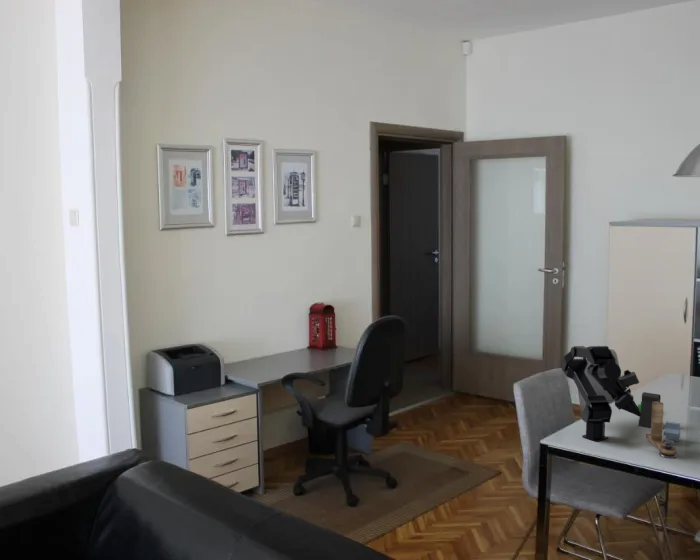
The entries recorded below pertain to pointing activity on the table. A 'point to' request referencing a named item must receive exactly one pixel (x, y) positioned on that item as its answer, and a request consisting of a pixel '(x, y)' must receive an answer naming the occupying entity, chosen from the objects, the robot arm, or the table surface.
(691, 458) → the table surface
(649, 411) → the phone stand
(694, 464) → the table surface
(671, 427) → the bracket
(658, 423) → the swing link
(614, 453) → the table surface
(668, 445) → the pin stand
